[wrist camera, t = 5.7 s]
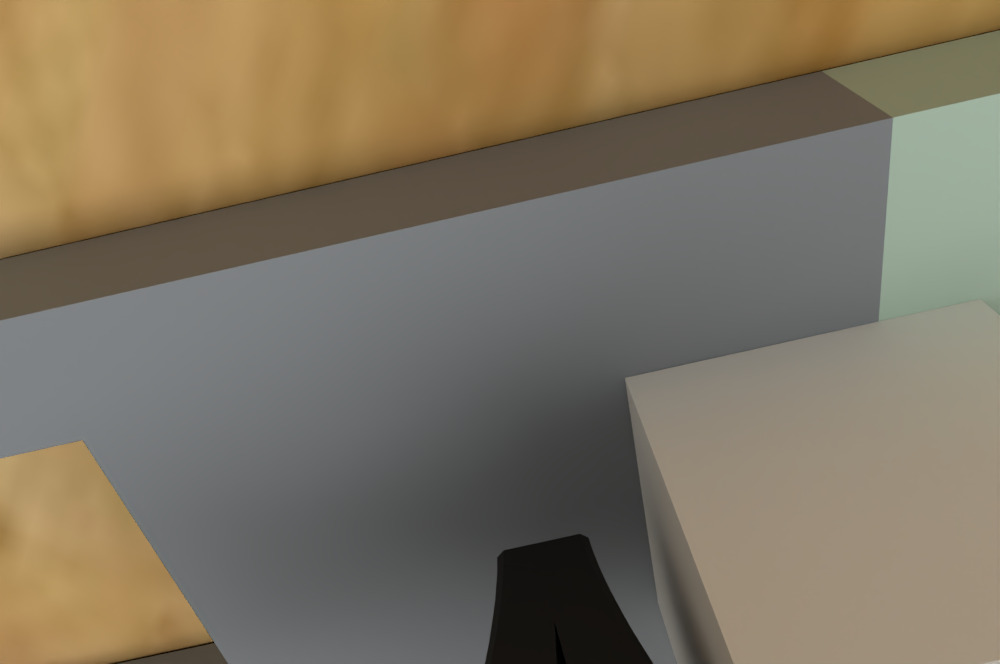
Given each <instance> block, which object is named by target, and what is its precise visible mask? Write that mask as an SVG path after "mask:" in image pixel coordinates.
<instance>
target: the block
mask: <svg viewBox="0 0 1000 664" xmlns="http://www.w3.org/2000/svg"><path fill="white" fill-rule="evenodd" d="M625 383H626V389H627V396H628V403H629V410H630V416H631V423H632V430H633V437H634V444H635V450H636V457H637V464H638V471H639V477H640V484H641V491H642V498H643V505H644V511H645V518H646V525H647V532H648V538H649V545H650V552H651V559H652V566H653V572H654V579H655V586H656V593H657V599H658V604H659V608H660V611H661V614H662V617H663V620H664V623H665V627H666V630H667V633H668V636H669V639H670V643H671V646H672V649H673V652H674V655H675V658H676V662H677V664H1000V315H999V314H997V313H996V312H995V311H994V310H993V309H992V308H991V307H989V306H988V305H987V304H986V303H985V302H984V301H982V300H981V299H978V300H973V301H969V302H964V303H960V304H955V305H951V306H946V307H942V308H937V309H933V310H928V311H924V312H919V313H915V314H910V315H906V316H901V317H897V318H892V319H888V320H883V321H879V322H874V323H870V324H865V325H861V326H856V327H852V328H847V329H843V330H838V331H834V332H829V333H825V334H820V335H816V336H811V337H807V338H802V339H798V340H793V341H789V342H784V343H780V344H775V345H771V346H766V347H762V348H757V349H753V350H748V351H744V352H739V353H735V354H730V355H726V356H721V357H717V358H712V359H708V360H703V361H699V362H694V363H690V364H685V365H681V366H676V367H672V368H667V369H663V370H658V371H654V372H649V373H645V374H640V375H636V376H631V377H627V378H625Z"/></svg>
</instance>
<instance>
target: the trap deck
mask: <svg viewBox="0 0 1000 664" xmlns="http://www.w3.org/2000/svg"><path fill="white" fill-rule="evenodd" d="M978 299H981V300H982V301H984V302H985V303H986V304H987V305H988V306H989V307H991V308H992V309H993V310H994V311H995V312H996V313H997V314H999V315H1000V30H998V31H994V32H990V33H985V34H981V35H976V36H972V37H968V38H963V39H959V40H955V41H950V42H946V43H942V44H937V45H933V46H929V47H924V48H920V49H916V50H911V51H907V52H902V53H898V54H894V55H889V56H885V57H881V58H876V59H872V60H868V61H863V62H859V63H855V64H850V65H846V66H842V67H837V68H833V69H828V70H824V71H820V72H815V73H811V74H807V75H802V76H798V77H794V78H789V79H785V80H781V81H776V82H772V83H768V84H763V85H759V86H754V87H750V88H746V89H741V90H737V91H733V92H728V93H724V94H720V95H715V96H711V97H707V98H702V99H698V100H694V101H689V102H685V103H680V104H676V105H672V106H667V107H663V108H659V109H654V110H650V111H646V112H641V113H637V114H633V115H628V116H624V117H620V118H615V119H611V120H606V121H602V122H598V123H593V124H589V125H585V126H580V127H576V128H572V129H567V130H563V131H559V132H554V133H550V134H546V135H541V136H537V137H532V138H528V139H524V140H519V141H515V142H511V143H506V144H502V145H498V146H493V147H489V148H485V149H480V150H476V151H472V152H467V153H463V154H458V155H454V156H450V157H445V158H441V159H437V160H432V161H428V162H424V163H419V164H415V165H411V166H406V167H402V168H398V169H393V170H389V171H384V172H380V173H376V174H371V175H367V176H363V177H358V178H354V179H350V180H345V181H341V182H337V183H332V184H328V185H324V186H319V187H315V188H310V189H306V190H302V191H297V192H293V193H289V194H284V195H280V196H276V197H271V198H267V199H263V200H258V201H254V202H250V203H245V204H241V205H236V206H232V207H228V208H223V209H219V210H215V211H210V212H206V213H202V214H197V215H193V216H189V217H184V218H180V219H176V220H171V221H167V222H162V223H158V224H154V225H149V226H145V227H141V228H136V229H132V230H128V231H123V232H119V233H115V234H110V235H106V236H102V237H97V238H93V239H88V240H84V241H80V242H75V243H71V244H67V245H62V246H58V247H54V248H49V249H45V250H41V251H36V252H32V253H28V254H23V255H19V256H14V257H10V258H6V259H1V260H0V458H4V457H9V456H13V455H18V454H22V453H27V452H31V451H36V450H40V449H45V448H49V447H54V446H58V445H63V444H67V443H72V442H76V441H81V440H83V442H84V443H85V445H86V446H87V448H88V449H89V451H90V452H91V454H92V455H93V457H94V458H95V460H96V461H97V463H98V465H99V466H100V468H101V469H102V471H103V472H104V474H105V475H106V477H107V478H108V480H109V481H110V483H111V485H112V486H113V488H114V489H115V491H116V492H117V494H118V495H119V497H120V498H121V500H122V501H123V503H124V504H125V506H126V508H127V509H128V511H129V512H130V514H131V515H132V517H133V518H134V520H135V521H136V523H137V524H138V526H139V528H140V529H141V531H142V532H143V534H144V535H145V537H146V538H147V540H148V541H149V543H150V544H151V546H152V547H153V549H154V551H155V552H156V554H157V555H158V557H159V558H160V560H161V561H162V563H163V564H164V566H165V567H166V569H167V571H168V572H169V574H170V575H171V577H172V578H173V580H174V581H175V583H176V584H177V586H178V587H179V589H180V590H181V592H182V594H183V595H184V597H185V598H186V600H187V601H188V603H189V604H190V606H191V607H192V609H193V610H194V612H195V614H196V615H197V617H198V618H199V620H200V621H201V623H202V624H203V626H204V627H205V629H206V630H207V632H208V633H209V635H210V637H211V638H212V640H213V641H214V643H213V644H208V645H203V646H199V647H194V648H189V649H184V650H180V651H175V652H170V653H166V654H161V655H156V656H151V657H147V658H142V659H137V660H133V661H128V662H123V663H119V664H485V661H486V656H487V651H488V646H489V639H490V633H491V626H492V620H493V613H494V605H495V595H496V583H497V557H498V556H499V555H500V554H501V553H502V551H503V550H507V549H512V548H516V547H521V546H526V545H530V544H535V543H540V542H544V541H549V540H553V539H558V538H563V537H567V536H572V535H576V534H582V535H584V536H586V537H588V538H589V540H590V543H591V547H592V549H593V552H594V555H595V557H596V560H597V562H598V565H599V567H600V569H601V572H602V574H603V576H604V578H605V580H606V582H607V584H608V586H609V588H610V590H611V592H612V594H613V596H614V598H615V600H616V602H617V604H618V605H619V607H620V609H621V611H622V613H623V615H624V616H625V618H626V620H627V622H628V623H629V625H630V627H631V628H632V630H633V632H634V634H635V635H636V637H637V638H638V640H639V642H640V643H641V645H642V646H643V648H644V650H645V651H646V653H647V654H648V656H649V657H650V659H651V661H652V662H653V664H677V662H676V658H675V655H674V652H673V649H672V646H671V643H670V639H669V636H668V633H667V630H666V627H665V623H664V620H663V617H662V614H661V611H660V608H659V604H658V599H657V593H656V586H655V579H654V572H653V566H652V559H651V552H650V545H649V538H648V532H647V525H646V518H645V511H644V505H643V498H642V491H641V484H640V477H639V471H638V464H637V457H636V450H635V444H634V437H633V430H632V423H631V416H630V410H629V403H628V396H627V389H626V383H625V378H627V377H631V376H636V375H640V374H645V373H649V372H654V371H658V370H663V369H667V368H672V367H676V366H681V365H685V364H690V363H694V362H699V361H703V360H708V359H712V358H717V357H721V356H726V355H730V354H735V353H739V352H744V351H748V350H753V349H757V348H762V347H766V346H771V345H775V344H780V343H784V342H789V341H793V340H798V339H802V338H807V337H811V336H816V335H820V334H825V333H829V332H834V331H838V330H843V329H847V328H852V327H856V326H861V325H865V324H870V323H874V322H879V321H883V320H888V319H892V318H897V317H901V316H906V315H910V314H915V313H919V312H924V311H928V310H933V309H937V308H942V307H946V306H951V305H955V304H960V303H964V302H969V301H973V300H978Z"/></svg>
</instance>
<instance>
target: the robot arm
mask: <svg viewBox="0 0 1000 664" xmlns="http://www.w3.org/2000/svg"><path fill="white" fill-rule="evenodd" d="M485 664H653V662H652V661H651V659H650V657H649V656H648V654H647V653H646V651H645V650H644V648H643V646H642V645H641V643H640V642H639V640H638V638H637V637H636V635H635V634H634V632H633V630H632V628H631V627H630V625H629V623H628V622H627V620H626V618H625V616H624V615H623V613H622V611H621V609H620V607H619V605H618V604H617V602H616V600H615V598H614V596H613V594H612V592H611V590H610V588H609V586H608V584H607V582H606V580H605V578H604V576H603V574H602V572H601V569H600V567H599V565H598V562H597V560H596V557H595V555H594V552H593V549H592V547H591V543H590V540H589V538H588V537H586V536H584V535H582V534H576V535H572V536H567V537H563V538H558V539H553V540H549V541H544V542H540V543H535V544H530V545H526V546H521V547H516V548H512V549H507V550H503V551H502V553H501V554H500V555H499V556H498V557H497V583H496V595H495V605H494V613H493V620H492V626H491V633H490V639H489V646H488V651H487V656H486V661H485Z"/></svg>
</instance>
